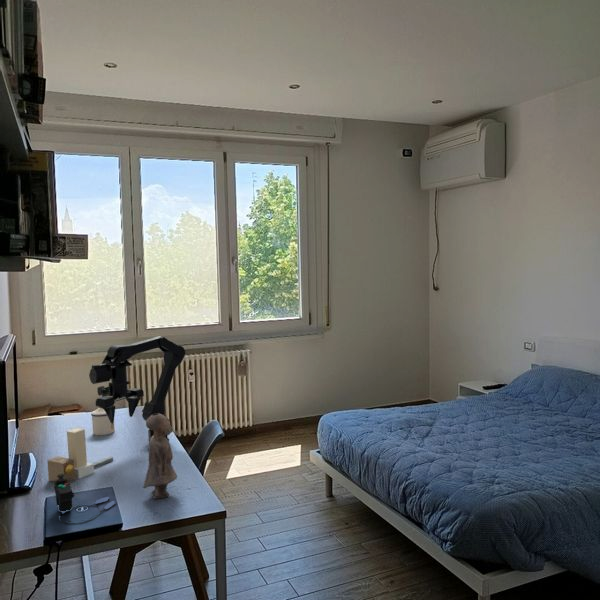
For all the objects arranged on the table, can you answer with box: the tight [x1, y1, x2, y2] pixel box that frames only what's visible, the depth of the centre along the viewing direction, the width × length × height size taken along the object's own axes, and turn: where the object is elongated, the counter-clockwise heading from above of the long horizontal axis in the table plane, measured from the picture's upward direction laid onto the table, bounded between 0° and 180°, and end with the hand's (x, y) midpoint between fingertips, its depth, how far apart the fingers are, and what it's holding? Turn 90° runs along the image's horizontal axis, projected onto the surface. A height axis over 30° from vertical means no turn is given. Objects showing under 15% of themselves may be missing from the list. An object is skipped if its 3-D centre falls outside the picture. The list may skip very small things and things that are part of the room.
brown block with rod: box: [47, 455, 114, 483], centre depth 190 cm, size 22×8×7 cm, turn 150°
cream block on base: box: [66, 427, 95, 479], centre depth 188 cm, size 6×8×15 cm
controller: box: [52, 474, 75, 511], centre depth 158 cm, size 4×12×10 cm, turn 32°
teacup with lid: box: [91, 407, 115, 436], centre depth 236 cm, size 12×9×12 cm
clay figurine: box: [142, 413, 178, 499], centre depth 167 cm, size 13×10×25 cm
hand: (121, 419), depth 209 cm, fingers open, 9 cm apart
